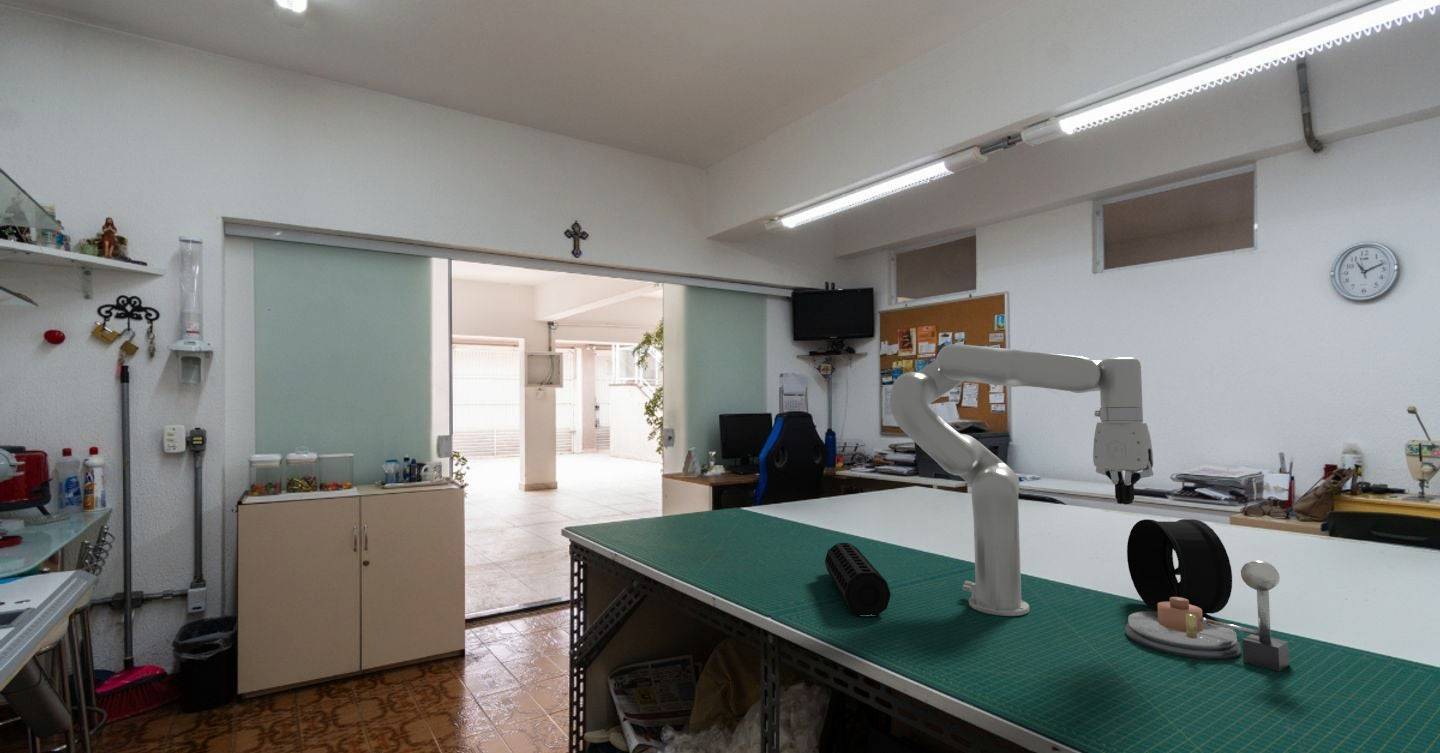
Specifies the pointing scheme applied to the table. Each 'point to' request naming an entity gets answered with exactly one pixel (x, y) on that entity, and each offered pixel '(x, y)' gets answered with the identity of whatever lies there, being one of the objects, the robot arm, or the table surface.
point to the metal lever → (1260, 620)
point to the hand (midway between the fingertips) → (1124, 503)
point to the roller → (857, 580)
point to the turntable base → (1184, 651)
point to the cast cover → (1178, 614)
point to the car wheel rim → (1179, 564)
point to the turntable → (1182, 632)
